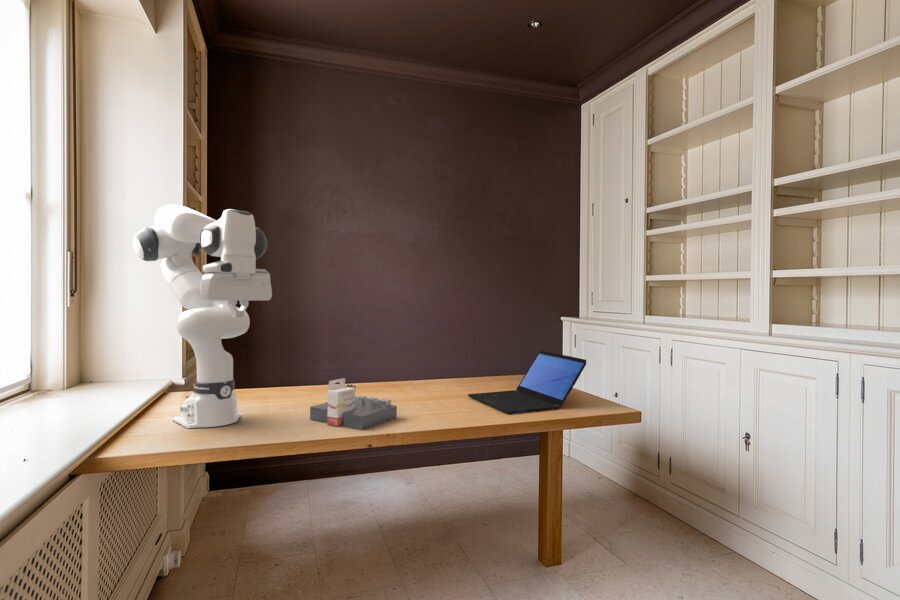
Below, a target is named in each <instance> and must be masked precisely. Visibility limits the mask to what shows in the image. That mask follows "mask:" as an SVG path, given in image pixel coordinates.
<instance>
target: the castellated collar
mask: <svg viewBox="0 0 900 600" xmlns="http://www.w3.org/2000/svg"><path fill="white" fill-rule="evenodd" d="M397 409H398V407H397V405H393V404H392V399H386V398H382V399H379V397H373V396H370V397H369V396H367V395H361V394H360V395H355V408H354V410H351V411H348V412H344V413H343V425H342V427H344V426H345V428H349V427H350V428H349V429H355V430H358V431H359V430H360V431H364V430H367V429H368V430H369V429H370V427H371V428H373V427H376V426H379V425H382V424H385V423H388V422H390V421H389V420H391V421H393V420H392V419H394V420H396V419H395V418H397V417H398V416H397V414H398V412H397ZM327 410H328V401H327V402H323V403H320V404H316V405H312V406H310V408H309V420H310V421H316V422H319V423H325V424H327ZM387 421H388V422H387ZM384 422H385V423H384ZM381 423H382V424H381ZM378 424H379V425H378ZM375 425H376V426H375Z"/></svg>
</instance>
